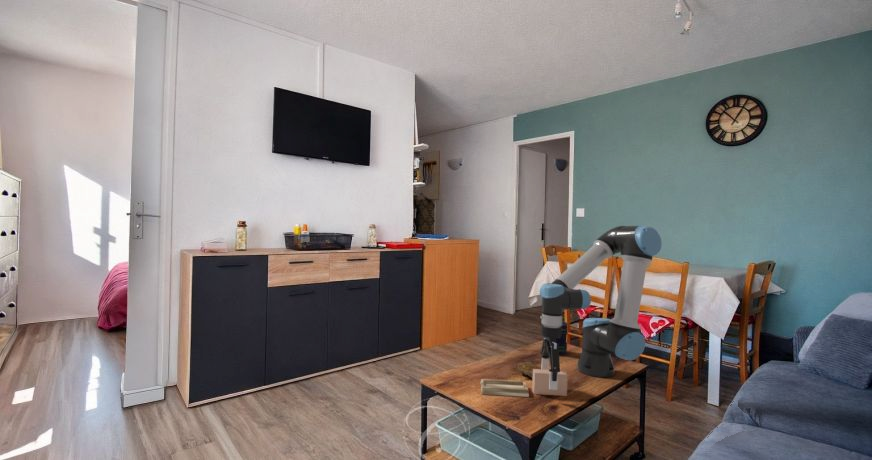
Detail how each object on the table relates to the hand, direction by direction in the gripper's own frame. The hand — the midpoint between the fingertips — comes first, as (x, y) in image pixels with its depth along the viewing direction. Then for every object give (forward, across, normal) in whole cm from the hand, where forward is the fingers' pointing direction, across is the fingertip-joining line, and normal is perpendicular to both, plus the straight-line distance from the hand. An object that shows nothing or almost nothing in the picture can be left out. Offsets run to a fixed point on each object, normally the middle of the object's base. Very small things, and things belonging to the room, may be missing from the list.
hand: (548, 381), depth 147 cm
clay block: (+4, 0, 0) cm, 4 cm away
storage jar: (+4, -50, +16) cm, 53 cm away
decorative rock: (+4, -18, -3) cm, 19 cm away
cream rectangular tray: (+4, 0, -16) cm, 17 cm away
